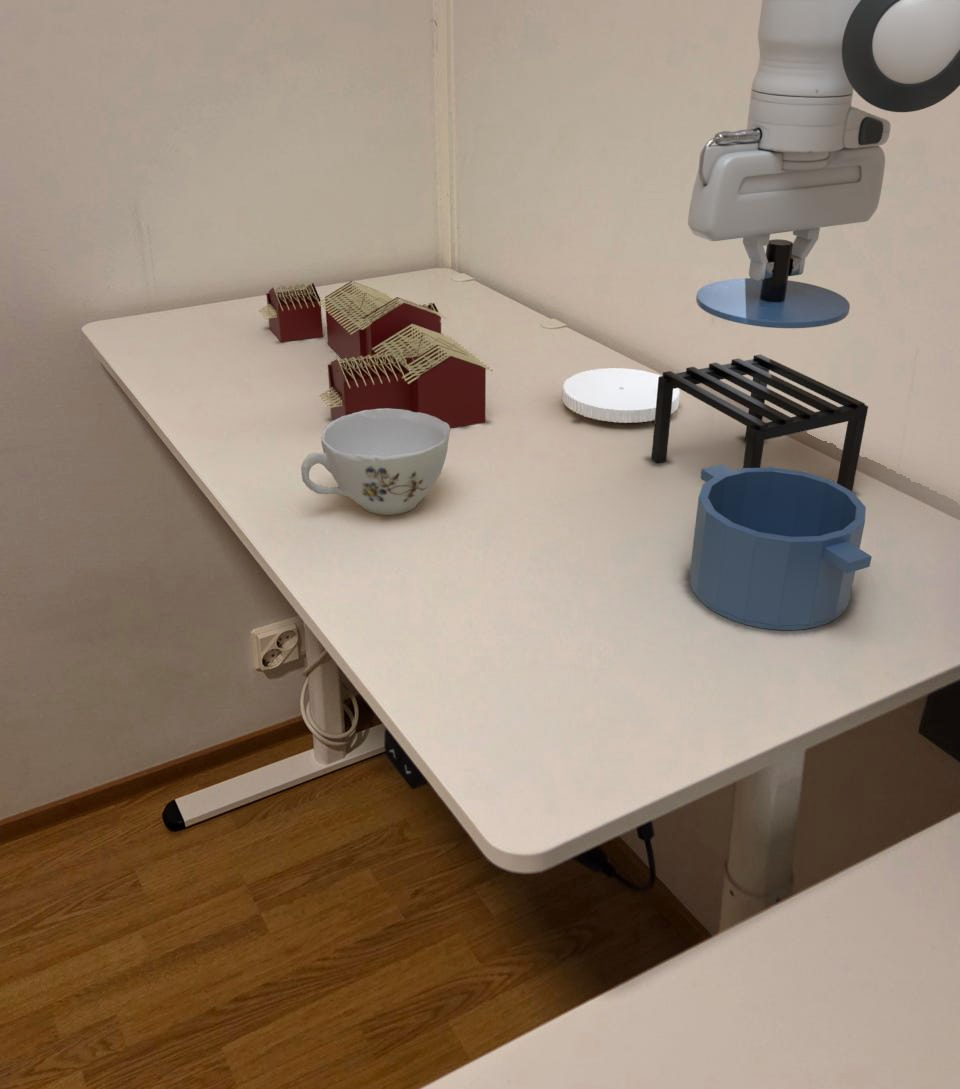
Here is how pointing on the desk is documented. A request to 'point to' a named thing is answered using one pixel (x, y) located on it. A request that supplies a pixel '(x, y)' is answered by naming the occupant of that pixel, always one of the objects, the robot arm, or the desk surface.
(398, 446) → the teacup
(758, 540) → the pot
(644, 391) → the plastic lid
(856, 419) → the rack
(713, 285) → the lid
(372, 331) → the toy houses
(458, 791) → the desk surface
